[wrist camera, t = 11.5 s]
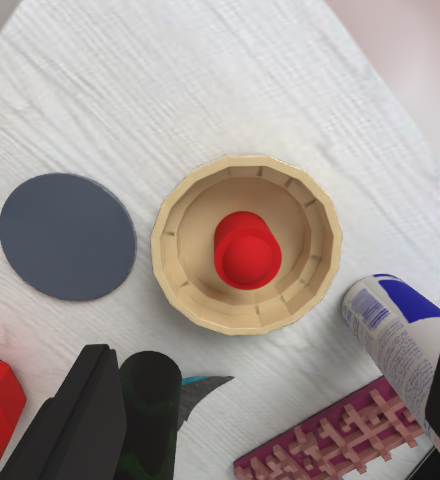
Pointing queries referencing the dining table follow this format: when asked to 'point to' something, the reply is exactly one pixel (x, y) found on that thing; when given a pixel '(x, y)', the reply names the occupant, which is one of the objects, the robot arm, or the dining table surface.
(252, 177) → the serving bowl
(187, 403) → the knife
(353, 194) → the dining table surface
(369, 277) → the beverage can
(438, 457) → the camera
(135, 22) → the dining table surface
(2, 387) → the apple
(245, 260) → the red cylinder
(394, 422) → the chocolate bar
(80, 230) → the dark grey coaster
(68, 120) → the dining table surface
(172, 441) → the cup
